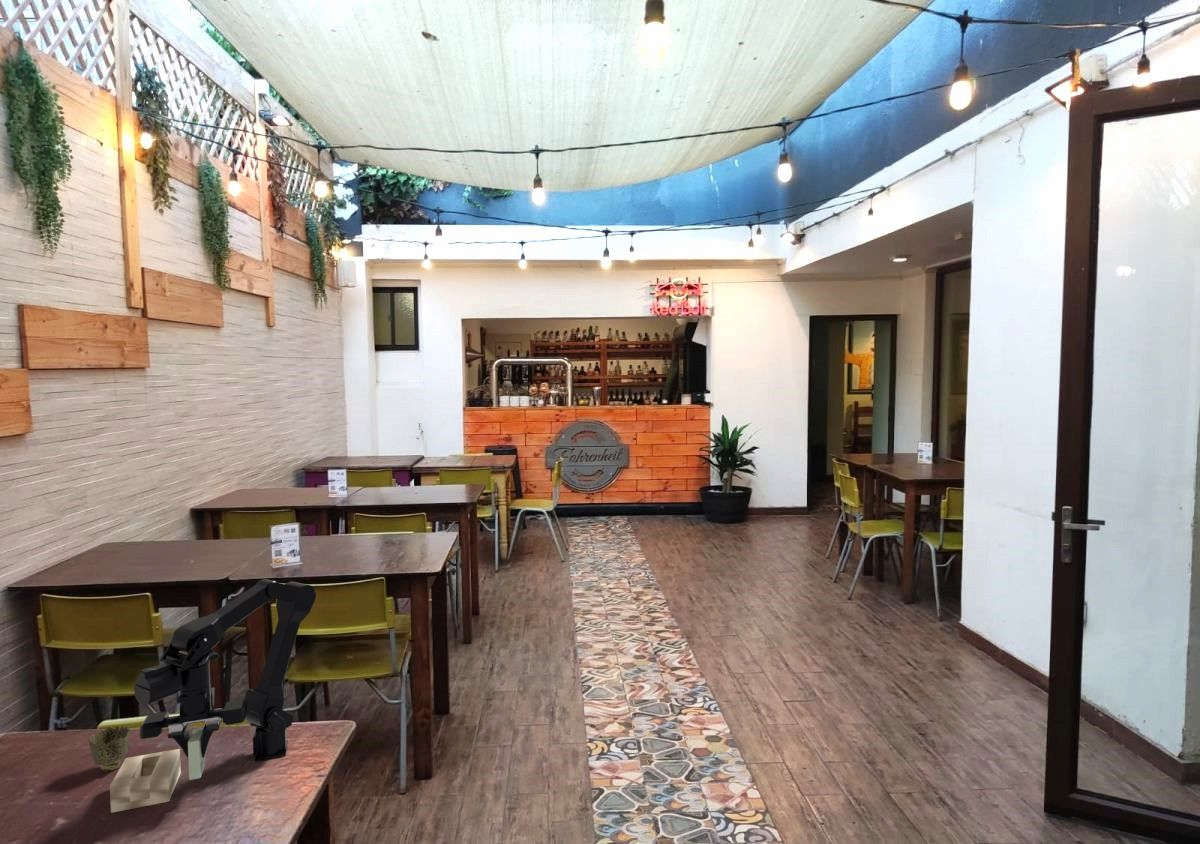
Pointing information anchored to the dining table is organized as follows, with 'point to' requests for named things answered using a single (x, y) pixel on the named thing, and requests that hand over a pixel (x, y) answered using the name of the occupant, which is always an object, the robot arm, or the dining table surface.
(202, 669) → the robot arm
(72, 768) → the dining table surface
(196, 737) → the green rectangular block
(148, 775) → the hollow square frame
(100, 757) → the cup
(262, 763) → the dining table surface
